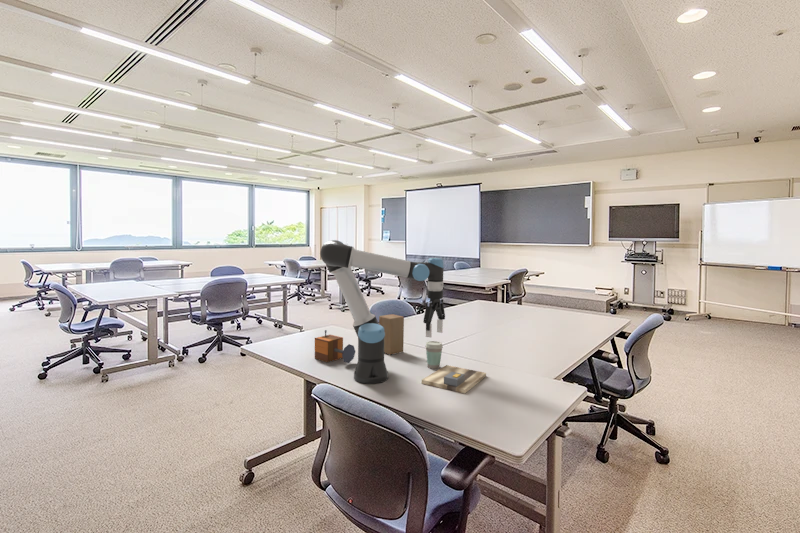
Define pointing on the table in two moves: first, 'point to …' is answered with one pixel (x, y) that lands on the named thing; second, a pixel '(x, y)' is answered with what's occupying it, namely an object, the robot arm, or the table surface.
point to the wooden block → (393, 333)
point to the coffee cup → (433, 354)
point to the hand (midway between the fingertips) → (434, 334)
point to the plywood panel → (470, 375)
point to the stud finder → (454, 379)
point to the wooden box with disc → (332, 349)
